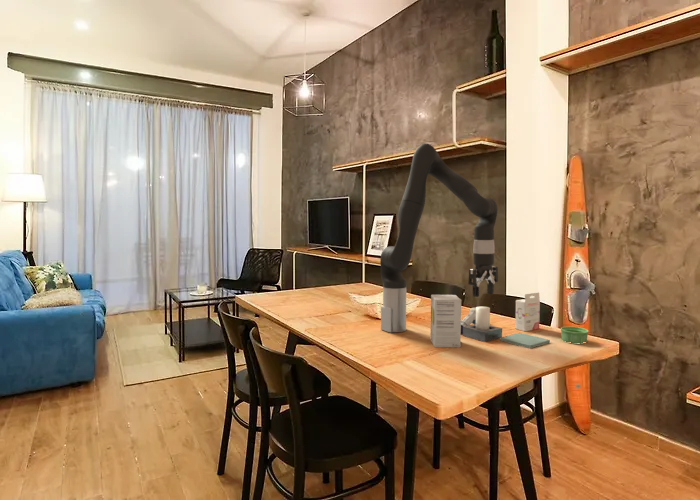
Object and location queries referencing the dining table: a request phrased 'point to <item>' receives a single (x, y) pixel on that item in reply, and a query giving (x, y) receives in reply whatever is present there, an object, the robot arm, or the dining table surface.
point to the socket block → (482, 333)
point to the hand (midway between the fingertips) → (483, 295)
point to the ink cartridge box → (528, 312)
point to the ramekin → (574, 334)
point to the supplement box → (445, 321)
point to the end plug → (483, 318)
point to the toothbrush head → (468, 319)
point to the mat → (524, 340)
